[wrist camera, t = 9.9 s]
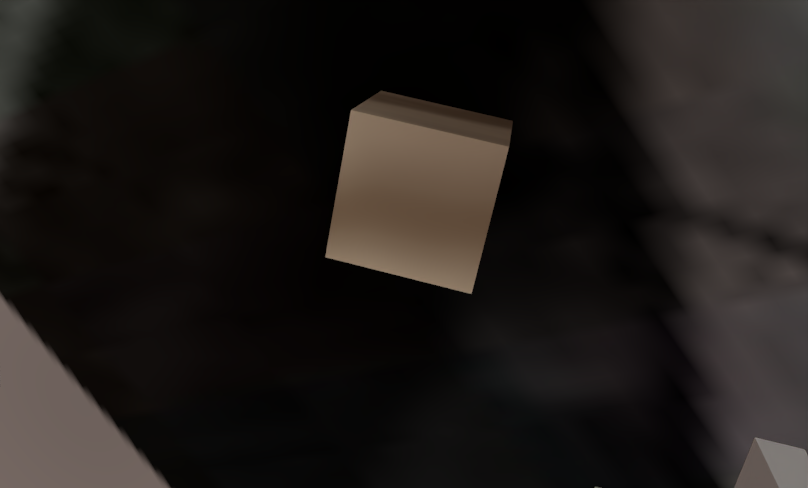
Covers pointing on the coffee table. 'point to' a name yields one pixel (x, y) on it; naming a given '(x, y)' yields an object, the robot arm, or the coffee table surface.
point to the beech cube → (417, 189)
